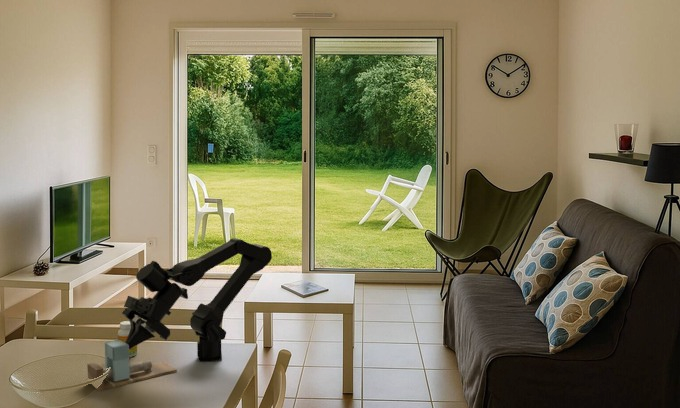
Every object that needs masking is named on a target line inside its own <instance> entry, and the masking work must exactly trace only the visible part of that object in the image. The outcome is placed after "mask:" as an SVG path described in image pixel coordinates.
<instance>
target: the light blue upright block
mask: <svg viewBox="0 0 680 408" xmlns="http://www.w3.org/2000/svg"><path fill="white" fill-rule="evenodd" d="M104 355H105V356H104V357H105V359H104V360H105V361H104V362H105V369H106V368H109V367H111V369H112V368H113V381H119V380H124V379H128V378H130V371H129V364H130V357H129V345H128V344H126V343H124V342H123V341H121V340H118V339H116V340H111V341H106V342H104Z"/></svg>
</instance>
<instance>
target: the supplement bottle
mask: <svg viewBox="0 0 680 408" xmlns="http://www.w3.org/2000/svg"><path fill="white" fill-rule="evenodd" d="M119 328H120V329H119V330H118V331H117V340H121V341H123V342H124V343H125V342H126V340H127V337H128V335H129V332H130V329H131V324H130V321H129V320H126V321H125V320H124V321H121V322H119ZM137 354H138V345H136V346H134V347H132V348H131V349H129V358H131V357H134V356H136V355H137Z"/></svg>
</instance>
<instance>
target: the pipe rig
mask: <svg viewBox="0 0 680 408" xmlns="http://www.w3.org/2000/svg"><path fill="white" fill-rule="evenodd" d="M86 366H87V379H88V378H89V379H94V378H97V377H99V376H101V375H103V373H105V372H106V371H107V370H108V369H107V370H106V369H104V368H103V367H102V366H100V365H99V364H97V363H96V362H90V363H87V365H86ZM129 371H130V378H128V379H124V380H119V381H113V368H112V369H110V371H109V373H108V375H107V376H106V378H105V379H104V380H103V382H102V384H101V385H100V386H99V387H98V388H97V389H96V390H97V391H104V390H108V389H112V388H115V387H120V386H123V385H124V386H125V385H127V384H128V385H129V384H132V383H134V382H140V381H144V380H148V379H152V378H155V377H156V378H157V377H160V376H165V375H168V374H171V373H177V372H178V370H177V368H175V367H173V366H172V365H169V364H168V363H166V362H164V361H160V362H157V363H152V361H151V360H150V359H147V360H143V361H139V362H134V363H129Z"/></svg>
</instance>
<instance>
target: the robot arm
mask: <svg viewBox="0 0 680 408" xmlns="http://www.w3.org/2000/svg"><path fill="white" fill-rule="evenodd" d="M238 254H239V255H241V257H240V261H239V262H240V263H239V266H238V267H237V269H236V270H234V272H233V273H232V275H230V277H229V278H228V280H227V281H226V282H225V283H224V285H223V286H222V288H221V289H220V290H219V291H218V292H217V294H216V295H215V296H214V298H213V299H212V300H211V301H210V302H209V303H207V304H204V303H201V302H200V303H199V304H198V306H197V308H196V309H195V310H194V311H193V312H192V313H191V318H190V320H189V323H190V328H191V329H192V330H193V331H194V333H195V335H196V336H197V337H199V338H198V339H199V341H197V345H196V348H197V350H196V352H197V353H196V354H197V356H196V357H197V358H198V361H199V362H211V361H212V362H213V361H222V360H223V354H222V340H225V338H226V335H227V331H226V330H225V329H224V328H222V327H221V324H222V322H223V318H224V313H225V311H226V310H227V308H228V307H229V306H230V304H231V303H232V302H233V301H234V300H235V298H236V297H237V296H238V294H239V293H240V292H241V291H242V289H244V287H245V285H246V284H247V283H248V282H249V280H250V279H251V277H252V276H253V275H255V274H256V273H258V272H260V271H261V270H262V271H263V269H264V268H265V267H266V266H267V265H269V263H270V262H271V261H272V259H273V256H272V250H271V249H270V248H269V247H268V246H265V245H261V244H257V243H256V244H255V243H249V242H247V241H245V240H243V239H239V238H235V237H233V238H230V239H229V240H228V241H226V242H225V243H223V244H221V245H219V246H218V247H215V248H213V249H211V250H210V251H208V252H206V253H204V254H202V255H201V256H199V257H197V258H191V259H187V260H184V261H181V262H178V263H176V264H174V265H173V266H172V267H170V268H167V269H164V268H163V267H161V265H160V263H158V262H157V261H155V260H151V262H150V263H148V264H146V265H145V266H143V267H141V268H140V269H139V270H138V272H137V274H136V275H135V276H136V277H135V279H136V280H137V281H138V282H139V283H140V284H142V286H144V287H145V288H146V289H147V290H148V291H149V292H151V293H155V292H156V293H155V294H154V295H153V297H147V298H145V297H143V296H141V297H140V298H138V297H137V298H136V297H133V296H131V295H127V297H126V300H125V303H124V305H123V307H124V308H125V309H124V310H123V311H122V312H121V314H122V315H123V316H124V317H125V318H126V319H128V321H130V324H131V329H130V332H129V335H128V337H127V340H126V342H125V343H126V344H128V345H129V349H131V348H132V347H134V346H136V345H137V346H138V345H140V344H141V343H143V342H146V341H147V340H148V341H149V340H150V339H151V338H154V339H155V337H156V336H155V335H154V334H155V333H156V334H157V335H159V338H160V339H163V340H165V341H167V340H168V338H169V337H170V336H171V329H170V328H169V327H167V326H166V325H165V324H164V323H163V322H162V320H163V319H164V318H165V317H166V315H167V316H170V315H171V314H172V311H170V310H171V309H172V307H173V306H174V305H175V304H176V303H177V301H178V300H179V299H180V298H182V299H185V300H188V299H189V294H188V289H187V288H186V287H192V286H194V285H195V284H196V283H198V282H199V281H200V280H201V279H203V277H204V276H205V274H206V273H207V272H208V271H210V270H211V269H214V268H215V267H217V266H219V265H222V263H224V262H226V261H227V260H230V259H231V258H234V257H235V256H236V255H238ZM169 280H170V281H169ZM171 281H173V282H171ZM177 283H178V284H177ZM179 284H180V285H182V286H186V287H181V286H180V285H179Z"/></svg>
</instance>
